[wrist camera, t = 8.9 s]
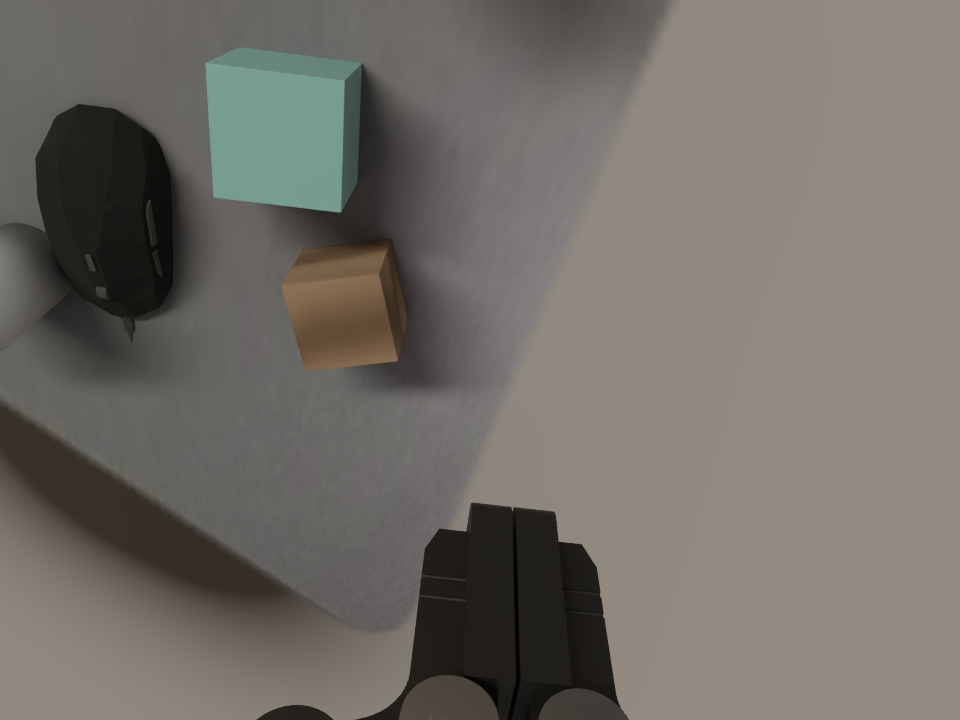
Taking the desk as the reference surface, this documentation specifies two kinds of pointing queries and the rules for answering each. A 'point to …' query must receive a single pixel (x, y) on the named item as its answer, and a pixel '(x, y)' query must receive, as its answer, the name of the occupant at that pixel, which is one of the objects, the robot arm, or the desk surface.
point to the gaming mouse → (108, 209)
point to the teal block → (284, 128)
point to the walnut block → (346, 305)
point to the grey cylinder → (27, 279)
